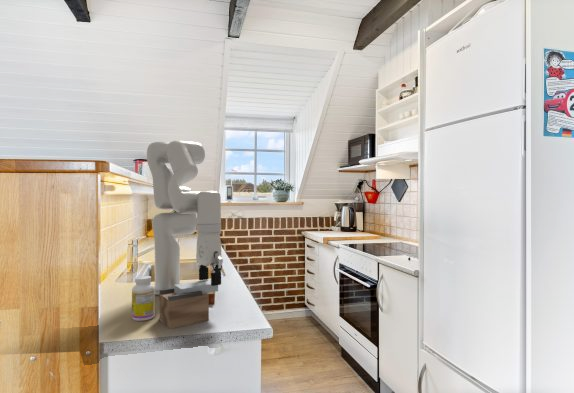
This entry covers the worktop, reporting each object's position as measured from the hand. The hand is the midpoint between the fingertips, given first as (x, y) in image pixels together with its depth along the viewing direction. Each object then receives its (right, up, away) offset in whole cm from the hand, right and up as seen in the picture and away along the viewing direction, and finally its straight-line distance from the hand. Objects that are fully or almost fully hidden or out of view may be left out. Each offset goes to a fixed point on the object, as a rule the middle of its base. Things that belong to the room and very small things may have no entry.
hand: (209, 282), depth 115 cm
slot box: (-7, -11, -4) cm, 13 cm away
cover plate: (-4, -3, -2) cm, 5 cm away
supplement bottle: (-20, -11, -3) cm, 23 cm away
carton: (-6, -11, +18) cm, 22 cm away
